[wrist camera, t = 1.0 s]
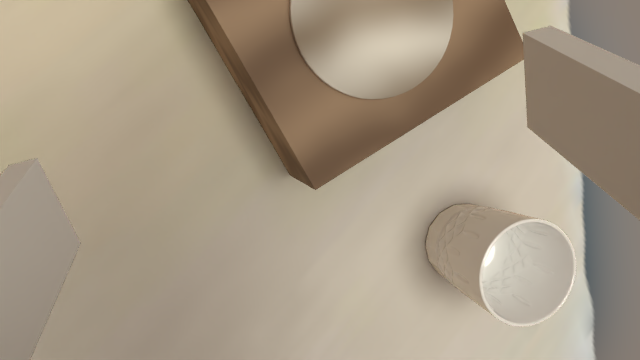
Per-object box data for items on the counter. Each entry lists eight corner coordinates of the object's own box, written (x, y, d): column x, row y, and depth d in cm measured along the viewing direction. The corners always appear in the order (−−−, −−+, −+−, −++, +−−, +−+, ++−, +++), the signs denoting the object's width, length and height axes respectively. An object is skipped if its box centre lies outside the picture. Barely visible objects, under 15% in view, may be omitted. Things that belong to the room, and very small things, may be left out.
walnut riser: (471, 63, 48) (534, 55, 40) (290, 175, 45) (317, 191, 37) (384, -121, 44) (434, -172, 36) (181, -11, 42) (184, -40, 33)
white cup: (439, 300, 50) (504, 347, 41) (404, 224, 49) (463, 254, 39) (512, 256, 52) (591, 291, 42) (480, 180, 50) (555, 199, 40)
